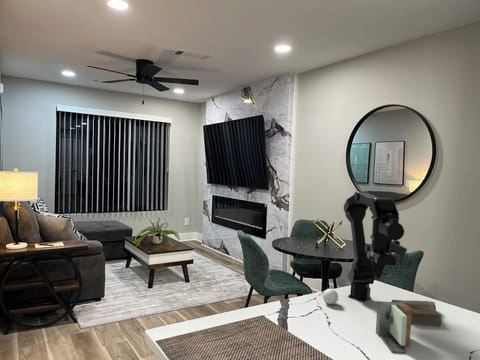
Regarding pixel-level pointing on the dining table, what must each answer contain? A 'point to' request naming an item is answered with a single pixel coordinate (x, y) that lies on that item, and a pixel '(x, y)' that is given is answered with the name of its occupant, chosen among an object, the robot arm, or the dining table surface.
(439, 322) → the marble piece
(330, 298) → the seamed sphere
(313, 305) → the dining table surface
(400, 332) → the pale green slab
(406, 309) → the post
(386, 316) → the gray bookend
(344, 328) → the dining table surface
